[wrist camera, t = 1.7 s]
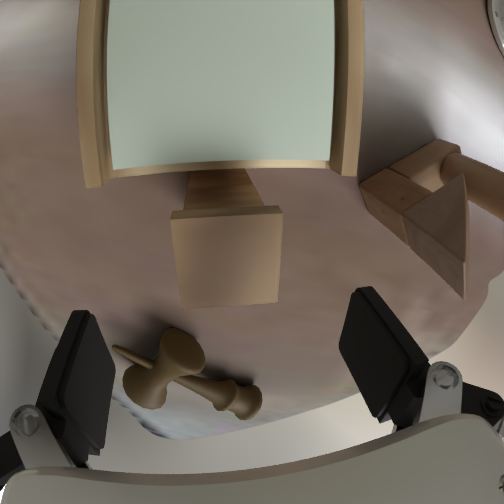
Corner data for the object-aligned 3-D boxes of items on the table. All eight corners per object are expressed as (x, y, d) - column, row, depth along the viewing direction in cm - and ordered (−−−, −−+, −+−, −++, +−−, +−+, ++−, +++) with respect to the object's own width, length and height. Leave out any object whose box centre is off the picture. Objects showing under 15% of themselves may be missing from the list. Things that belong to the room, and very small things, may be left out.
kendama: (225, 402, 40) (99, 348, 31) (271, 368, 37) (136, 299, 28) (231, 436, 35) (91, 388, 26) (283, 404, 32) (129, 341, 23)
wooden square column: (246, 158, 23) (283, 213, 13) (246, 213, 25) (277, 302, 15) (186, 161, 22) (170, 219, 12) (190, 217, 25) (182, 309, 14)
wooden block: (356, 183, 25) (506, 303, 10) (436, 136, 24) (586, 205, 8) (368, 214, 27) (498, 341, 12) (444, 167, 26) (579, 247, 10)
